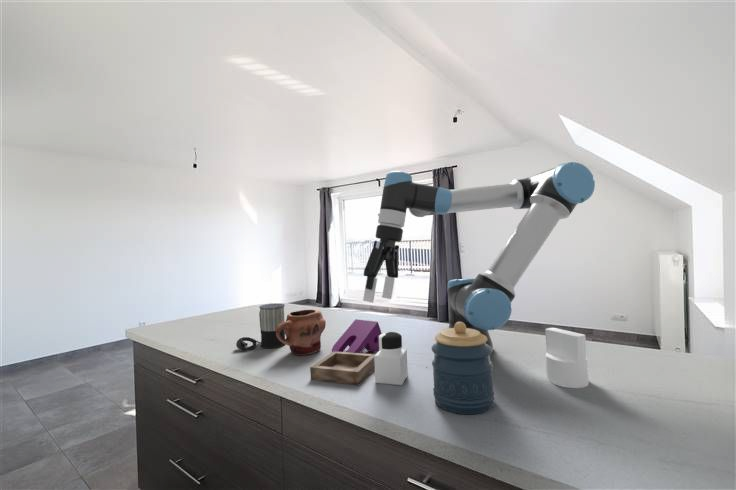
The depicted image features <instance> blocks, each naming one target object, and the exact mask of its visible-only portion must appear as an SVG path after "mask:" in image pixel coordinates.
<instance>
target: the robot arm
mask: <svg viewBox="0 0 736 490" xmlns="http://www.w3.org/2000/svg"><path fill="white" fill-rule="evenodd" d="M595 182H596V181H595V180H594V175H593V173H592V171H591V170H590V169H589V168H588V167H587V166H586V165H584V164H582V163H579V162H575V161H570V162H566V163H560V164H558V165H557V166H555V167H552V168H549V169H547V170H544V171H542V172H540V173H537V174H534V175H532V176H530V177H526V178H521V179H513V180H512V182H510V183H505V184H503V183H502V184H495V185H494V184H493V185H483V186H475V187H466V188H455V189H448V188H444V187H442V186H436V185H435V186H434V185H428V184H423V183H417V182H413V176H412V175H411V174H410V173H408V172H405V171H399V170H392V171H389V172H388V173H387V174H386V176H385V180H384V185H383V189H382V195H381V201H380V209H379V213H378V214H377V216H378V220H377V223H378V225H377V226H376V230H375V238H376V239H379V240H374V242H373V246H372V249H371V252H370V255H369V257H368V260H367V262H366V264H365V267H364V270H363V276H365V277H366V281H365V287H364V292H363V297H362V298H363V299H362V301H364V302H367V303H374V301H375V300H374V299H375V295H376V289H377V283H378V278H377V276H378V274H379V272H380V269H381V268H382V266H383V264H384V262H385V270H386V275H385V278H384V283H383V284H384V285H383V290H382V295H381V298H383V299H387V300H391V299H392V296H393V289H394V283H395V278H396V279H398V277H399V248H400V244H396V242H397V243H400V242H402V240H403V234H404V230H403V228H404V227H405V223H406V222H405V221H406V218H407V217H406V215H407V209H408V211H409V213H410V214H411V215H412V216H415V217H417V218H424V217H426V216H427V217H428V216H434V215H435V216H436V215H443V216H444V215H446V214H451V213H452V214H453V213H465V212H473V211H482V210H491V209H500V208H501V209H503V208H513V209H514V210H522V209H523V210H526V212H525V214H524V215H523V216H522V218H521V220H520V221H519V222H518V224H517V226H516V228H515V229H514V230H513V232H512V233H511V234H510V236H509V238H508V239H507V241H506V242H505V243H504V244H503V247H502V248H501V249H500V251H499V253H497V256H496V257H495V259H494V260H493V262H492V263H491V265H490V266H489V268H488V269H487V270H486V271H483V272H479V273H478V274H477V276H475V278H462V279H450V280H449V281H448V282H447V289H446V291H447V292H446V293H447V303H448V305H447V306H448V309H447V310H448V328H447V329H449V328H454V325H455V323H456V322H463V323H464V324H465V325H466V328H469V329H474V330H477V331H479V332H480V333H481V334H483V335H485V336H486V337H487V342H486V344H487V345H489V346H490V347H491V348H492V352H494V343H493V341H492V338H491V335H490V333H489V331H494V330H497V329H500V328H501V327H504V325H506V324H507V322H508V321H510V320H509V319H510V317H511V316H512V302H513V301H514V299H515V297H516V292H515V287H516V286H517V284H518V283H519V281H520V280H521V278H522V276H523V275H524V274H525V272H526V270H527V269H528V267H529V266H530V264H531V263H532V261H534V259H535V257H536V256H537V254H538V253H539V251H540V250H541V248H542V246H543V245H544V244H545V242H546V241H547V239H548V238H549V236H550V234H551V233H552V232H553V230H554V229H555V227H556V226H557V225H558V222H559V221H560V220H563V219H567V218H569V217H570V215H571V214H572V212H574V209H575V208H576V206H577V205H578V204H583V203H585V202H586V201H587V200H589V199H590V198H591V197H592V196H593V194H594V191H595V189H596V188H595V187H596V183H595Z"/></svg>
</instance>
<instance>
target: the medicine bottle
mask: <svg viewBox="0 0 736 490" xmlns="http://www.w3.org/2000/svg"><path fill="white" fill-rule="evenodd" d="M381 333H382V334H381V335H379V350H378V351H377V352H376V353H375V356H374V363H375V369H374V377H375V378H374V380H375V384H382V385H383V384H384V385H395V386H402V385H403V384H404V383H405V380H406V379H407V376H408V374H409V373H408V372H409V371H408V351H407V349H406V348H403V338H402V337H403V336H402V335H401V334H400V333H398V332H395V331H388V332H386V331H385V332H381Z"/></svg>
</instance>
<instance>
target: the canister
mask: <svg viewBox="0 0 736 490" xmlns="http://www.w3.org/2000/svg"><path fill="white" fill-rule="evenodd" d="M448 328H449V327H448ZM448 328H445V329H442V330H441V331H440V332H439V333H437V334H436V335H434V340H435V341H436V342H435V343H433V344H432V345H431V351H432V352H433V355H434V356H433V359H432V361H431V365H432V371H433V373H432V375H433V388H432V389H433V390H432V391H433V397H434V401H435V403H436V404H437V405H438V406H439V407H440V408H442V409H444V410H445V411H448V412H450V413H455V414H461V415H478V414H482V413H486V412H488V411H490V410H491V409H492V408H493V406H494V401H495V392H494V383H493V380H494V379H493V367H494V365H493V362H492V361H491V354H493V353H492V352H493V351H492V348H491V347H490V346H489V345H487V344H486V342H487V337H486V336H485V335H483V334H481V333H480V332H479V331H477V330H474V329H469V328H466V325H465V324H464V323H463V322H456V323H455V325H454V328H449V329H448Z"/></svg>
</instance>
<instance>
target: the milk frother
mask: <svg viewBox="0 0 736 490" xmlns="http://www.w3.org/2000/svg"><path fill="white" fill-rule="evenodd" d="M258 308H259V316H258V317H259V326H260V341H258V340H256V339H254V338H251V337H248V336H246V337H240V338H239V339H237V340H236V343H235V345H236V348H237V349H239V350H240V351H249V350H254V349H255V348H257V343H258V344H260V347H261V348H263V349H277V348H281V347H283V346H285V345H286V344H284V343H282V342H281V341H280V340H279V339H278V338H277V336H276V329H277V327H278V325H279V324H281V323H282V322H285V304H284V303H267V304H262V305H260V306H259V307H258ZM280 336H281V338H282V339H284V340H285V339H286V335H285V333H284V328H283V329H282V330H281V332H280ZM246 342H247V343H246ZM248 342H249V343H252V345H251V346H248V345H249V344H248Z"/></svg>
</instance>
